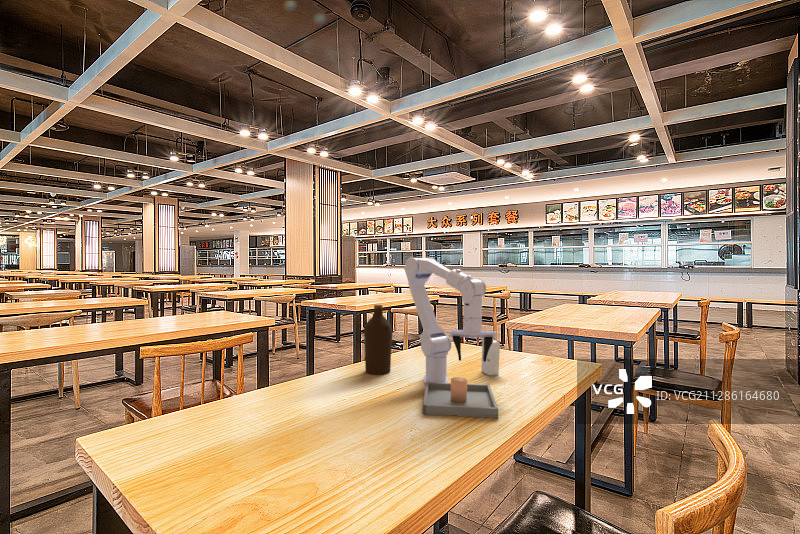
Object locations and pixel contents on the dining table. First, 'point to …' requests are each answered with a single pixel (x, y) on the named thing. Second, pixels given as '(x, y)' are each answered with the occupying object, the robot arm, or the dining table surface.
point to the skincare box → (491, 359)
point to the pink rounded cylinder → (458, 390)
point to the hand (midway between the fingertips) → (472, 360)
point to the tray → (476, 405)
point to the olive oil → (378, 343)
